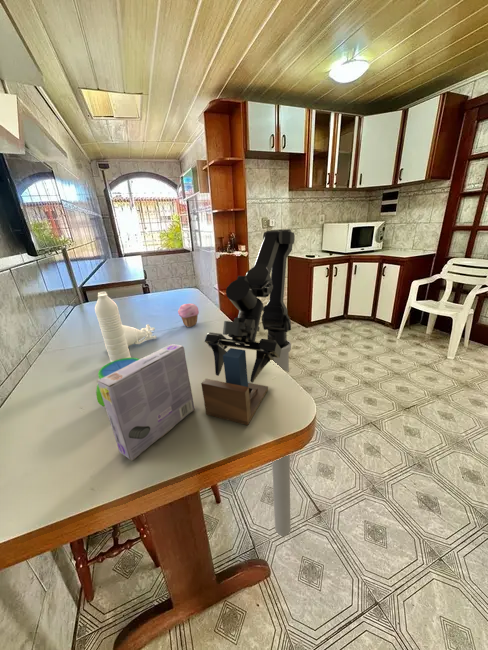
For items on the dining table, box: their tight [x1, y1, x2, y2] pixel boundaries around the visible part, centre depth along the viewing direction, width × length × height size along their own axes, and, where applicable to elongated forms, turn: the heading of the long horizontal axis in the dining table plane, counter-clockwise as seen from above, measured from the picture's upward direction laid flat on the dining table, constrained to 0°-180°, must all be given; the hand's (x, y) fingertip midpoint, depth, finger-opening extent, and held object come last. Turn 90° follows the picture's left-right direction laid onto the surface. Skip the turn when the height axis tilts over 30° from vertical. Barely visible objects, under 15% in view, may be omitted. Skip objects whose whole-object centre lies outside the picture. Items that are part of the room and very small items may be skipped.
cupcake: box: [177, 303, 200, 328], centre depth 117 cm, size 9×9×10 cm
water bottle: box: [94, 290, 132, 363], centre depth 86 cm, size 9×6×25 cm
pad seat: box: [200, 378, 269, 426], centre depth 66 cm, size 14×11×9 cm
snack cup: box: [95, 357, 141, 408], centre depth 70 cm, size 16×10×10 cm
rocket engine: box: [104, 324, 157, 351], centre depth 103 cm, size 12×12×18 cm
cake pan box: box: [96, 343, 196, 462], centre depth 58 cm, size 19×5×18 cm, turn 145°
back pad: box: [223, 347, 249, 387], centre depth 65 cm, size 4×4×13 cm
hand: (233, 378), depth 64 cm, fingers open, 9 cm apart
